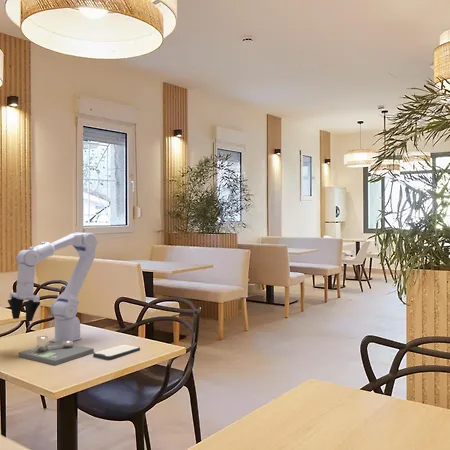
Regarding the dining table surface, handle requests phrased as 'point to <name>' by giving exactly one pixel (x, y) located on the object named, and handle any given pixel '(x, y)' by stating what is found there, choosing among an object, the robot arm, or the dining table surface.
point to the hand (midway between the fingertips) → (22, 319)
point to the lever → (43, 346)
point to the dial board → (57, 354)
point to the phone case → (116, 352)
